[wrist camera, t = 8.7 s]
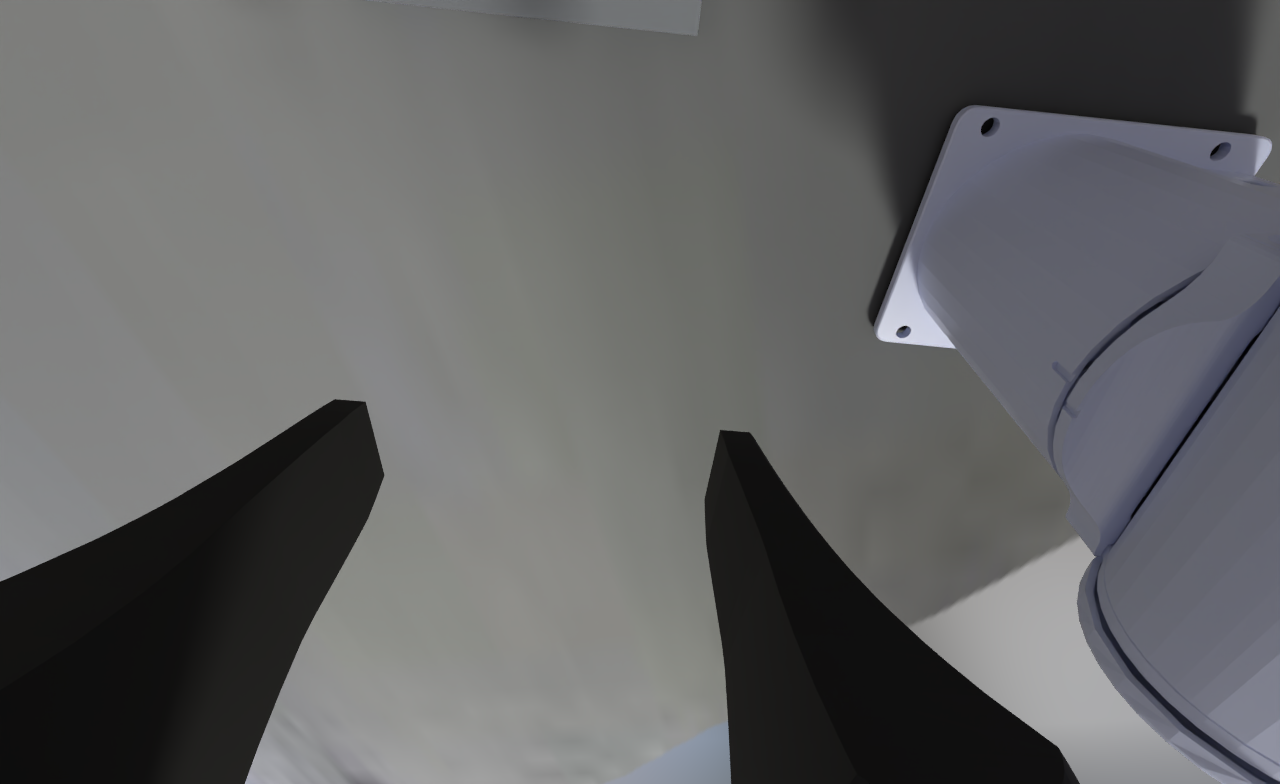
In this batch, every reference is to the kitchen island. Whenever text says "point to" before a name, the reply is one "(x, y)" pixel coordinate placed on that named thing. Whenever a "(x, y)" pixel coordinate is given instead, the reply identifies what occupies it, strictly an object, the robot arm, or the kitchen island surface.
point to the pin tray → (587, 12)
